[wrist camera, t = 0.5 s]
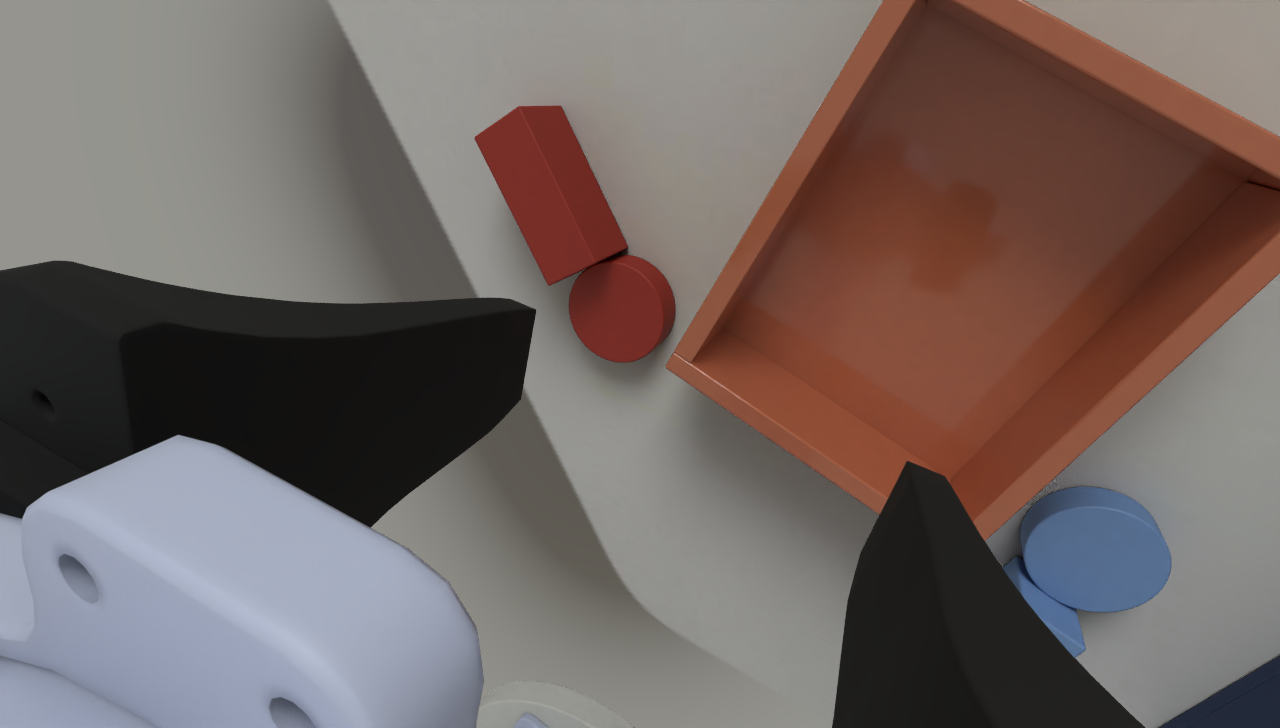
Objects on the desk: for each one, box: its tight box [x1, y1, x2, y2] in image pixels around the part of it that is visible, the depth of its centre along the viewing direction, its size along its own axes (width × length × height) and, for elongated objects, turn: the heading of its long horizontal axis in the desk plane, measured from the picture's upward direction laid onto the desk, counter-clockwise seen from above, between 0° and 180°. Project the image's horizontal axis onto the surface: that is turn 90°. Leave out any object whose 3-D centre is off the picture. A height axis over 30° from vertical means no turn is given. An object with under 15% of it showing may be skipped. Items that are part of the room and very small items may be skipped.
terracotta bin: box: [666, 0, 1280, 541], centre depth 18 cm, size 12×10×4 cm
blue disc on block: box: [1003, 487, 1171, 658], centre depth 21 cm, size 9×4×3 cm, turn 152°
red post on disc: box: [475, 106, 675, 362], centre depth 22 cm, size 9×4×3 cm, turn 28°
